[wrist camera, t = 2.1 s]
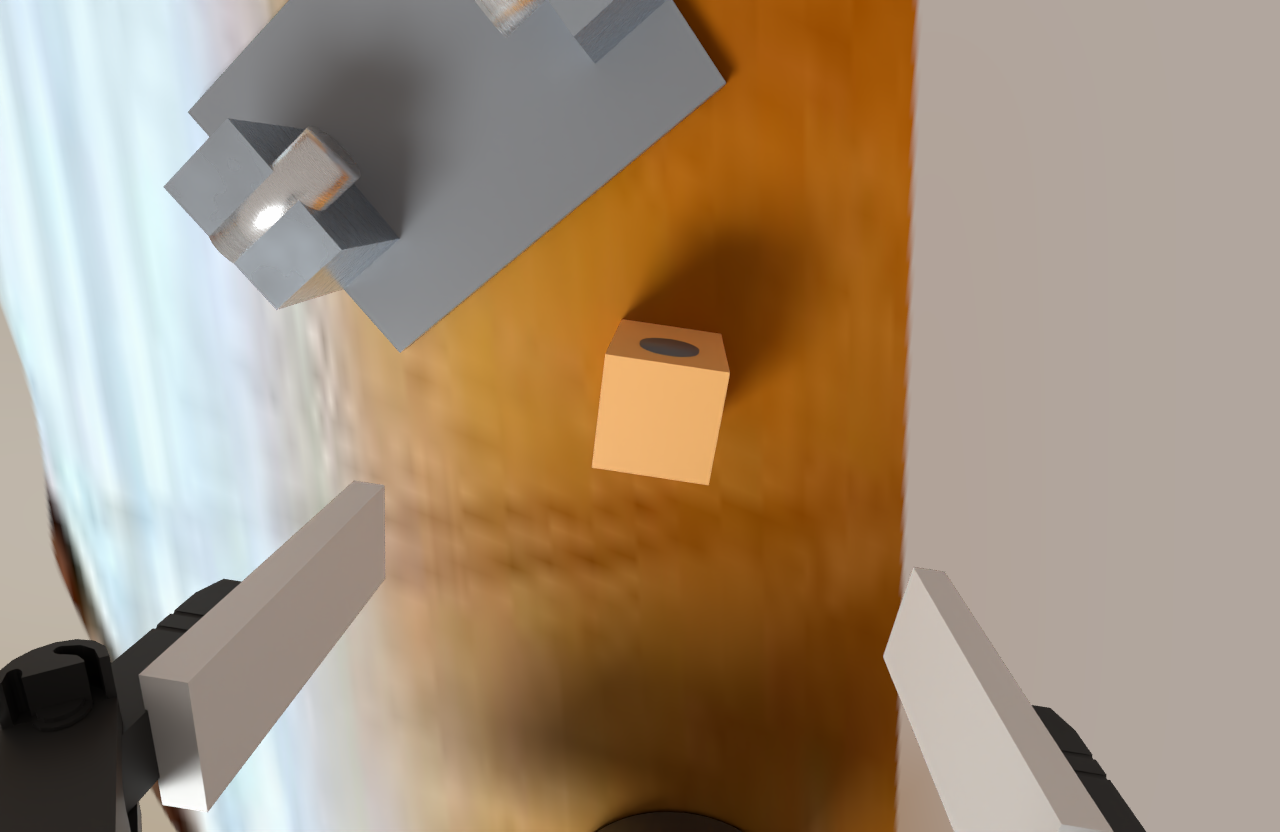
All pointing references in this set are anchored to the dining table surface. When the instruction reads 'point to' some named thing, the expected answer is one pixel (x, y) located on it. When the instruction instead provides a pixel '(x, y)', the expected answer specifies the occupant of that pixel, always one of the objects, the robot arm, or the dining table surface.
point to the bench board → (461, 127)
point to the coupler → (661, 402)
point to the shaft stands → (330, 178)
